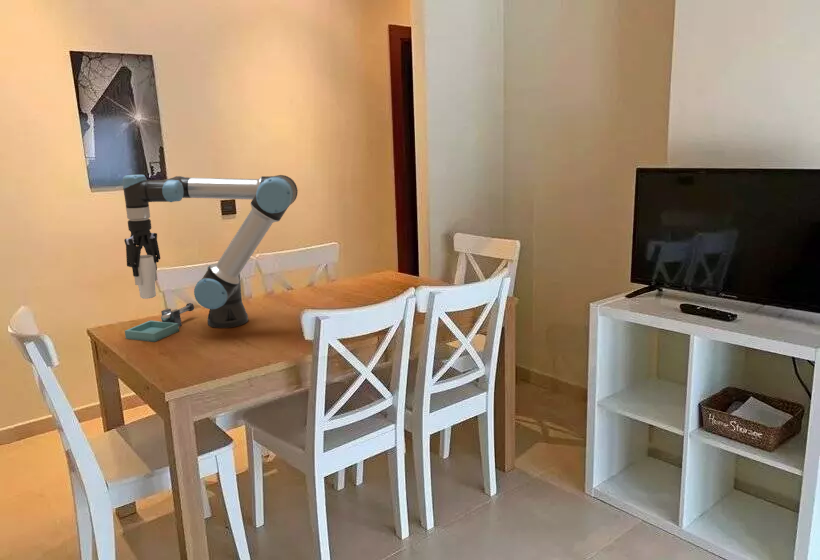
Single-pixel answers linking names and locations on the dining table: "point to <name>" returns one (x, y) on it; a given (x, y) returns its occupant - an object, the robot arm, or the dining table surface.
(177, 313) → the pin mount
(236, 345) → the dining table surface
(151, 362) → the dining table surface
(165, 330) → the teal square tray
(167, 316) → the lock pin
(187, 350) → the dining table surface
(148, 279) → the drinking glass
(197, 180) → the robot arm
